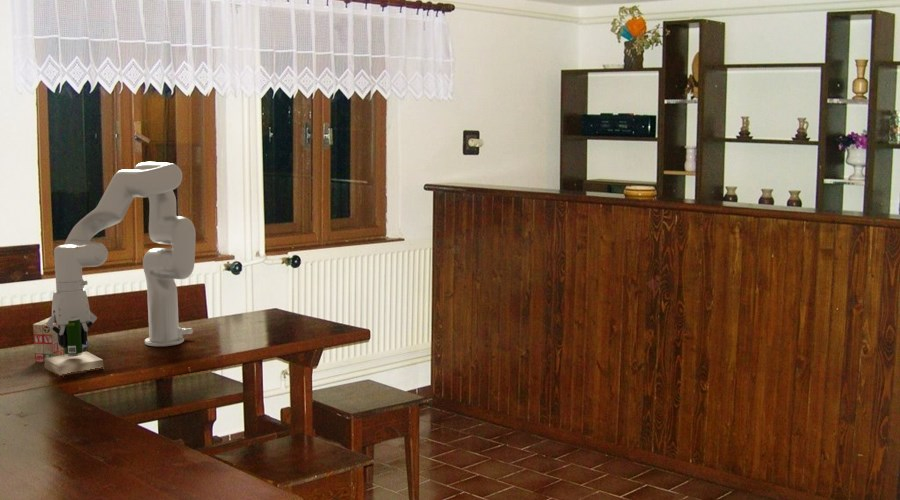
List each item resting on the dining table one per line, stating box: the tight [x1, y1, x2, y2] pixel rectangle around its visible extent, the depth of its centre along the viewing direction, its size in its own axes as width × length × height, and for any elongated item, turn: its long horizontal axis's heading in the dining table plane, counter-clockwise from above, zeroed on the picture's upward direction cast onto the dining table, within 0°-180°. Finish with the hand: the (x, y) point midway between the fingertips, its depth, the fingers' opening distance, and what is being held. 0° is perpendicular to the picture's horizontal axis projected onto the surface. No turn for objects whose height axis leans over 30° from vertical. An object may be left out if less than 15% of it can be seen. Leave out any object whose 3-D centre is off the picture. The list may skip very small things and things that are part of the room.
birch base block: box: [44, 351, 104, 375], centre depth 314 cm, size 13×13×3 cm
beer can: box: [64, 317, 84, 357], centre depth 313 cm, size 5×5×12 cm
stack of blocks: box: [32, 316, 89, 363], centre depth 331 cm, size 21×6×12 cm, turn 171°
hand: (73, 344), depth 314 cm, fingers closed on beer can, 5 cm apart
